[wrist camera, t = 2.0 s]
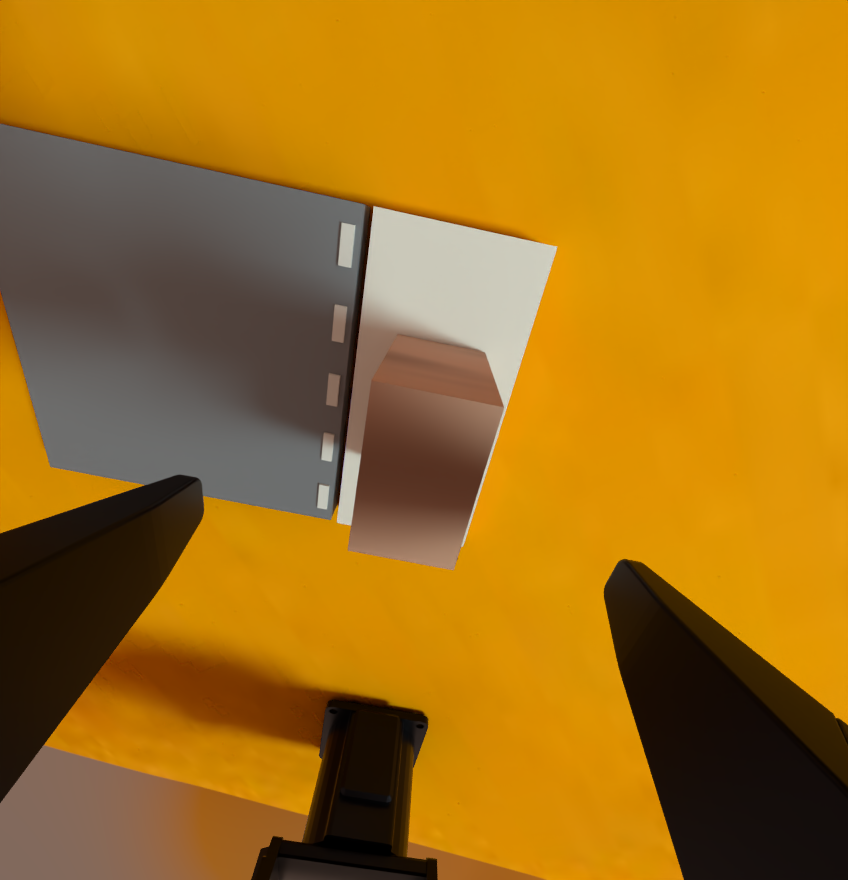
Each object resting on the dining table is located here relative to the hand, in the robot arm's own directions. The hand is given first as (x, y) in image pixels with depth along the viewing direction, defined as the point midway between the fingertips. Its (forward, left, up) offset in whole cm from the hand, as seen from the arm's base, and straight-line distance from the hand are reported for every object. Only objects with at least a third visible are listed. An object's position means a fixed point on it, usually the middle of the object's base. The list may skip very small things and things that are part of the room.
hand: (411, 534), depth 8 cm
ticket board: (0, +9, -8) cm, 12 cm away
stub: (0, 0, -8) cm, 8 cm away
